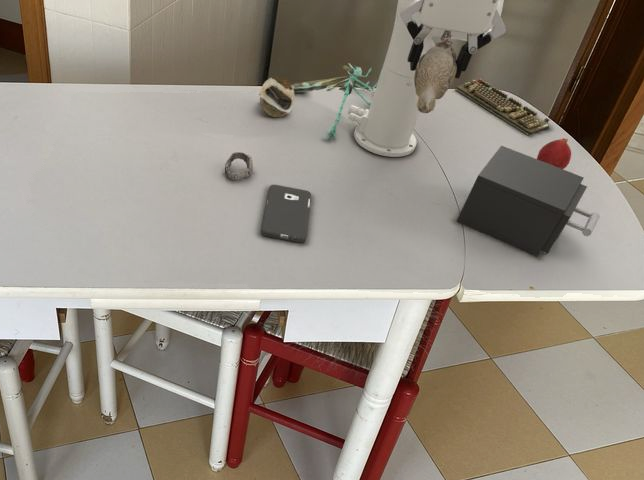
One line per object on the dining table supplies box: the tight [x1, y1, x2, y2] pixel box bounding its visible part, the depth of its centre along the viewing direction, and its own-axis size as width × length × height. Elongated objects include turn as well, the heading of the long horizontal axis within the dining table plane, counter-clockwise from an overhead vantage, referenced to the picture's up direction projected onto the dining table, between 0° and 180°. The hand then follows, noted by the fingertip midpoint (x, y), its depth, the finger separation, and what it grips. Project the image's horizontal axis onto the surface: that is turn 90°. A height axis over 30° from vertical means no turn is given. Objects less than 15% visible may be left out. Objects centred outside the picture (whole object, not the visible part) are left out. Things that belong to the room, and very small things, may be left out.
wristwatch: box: [224, 151, 254, 181], centre depth 127 cm, size 4×6×5 cm
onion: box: [536, 137, 572, 170], centre depth 134 cm, size 6×6×8 cm
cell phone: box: [260, 184, 312, 244], centre depth 121 cm, size 8×15×1 cm, turn 169°
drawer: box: [540, 183, 601, 255], centre depth 120 cm, size 18×12×8 cm, turn 54°
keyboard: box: [454, 78, 551, 136], centre depth 154 cm, size 22×9×2 cm, turn 31°
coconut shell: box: [258, 76, 296, 118], centre depth 144 cm, size 8×8×6 cm
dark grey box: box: [456, 145, 585, 258], centre depth 121 cm, size 15×13×10 cm
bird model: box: [414, 30, 457, 114], centre depth 104 cm, size 29×6×5 cm, turn 159°
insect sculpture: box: [290, 62, 382, 141], centre depth 148 cm, size 6×20×30 cm
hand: (434, 69), depth 107 cm, fingers closed on bird model, 6 cm apart
